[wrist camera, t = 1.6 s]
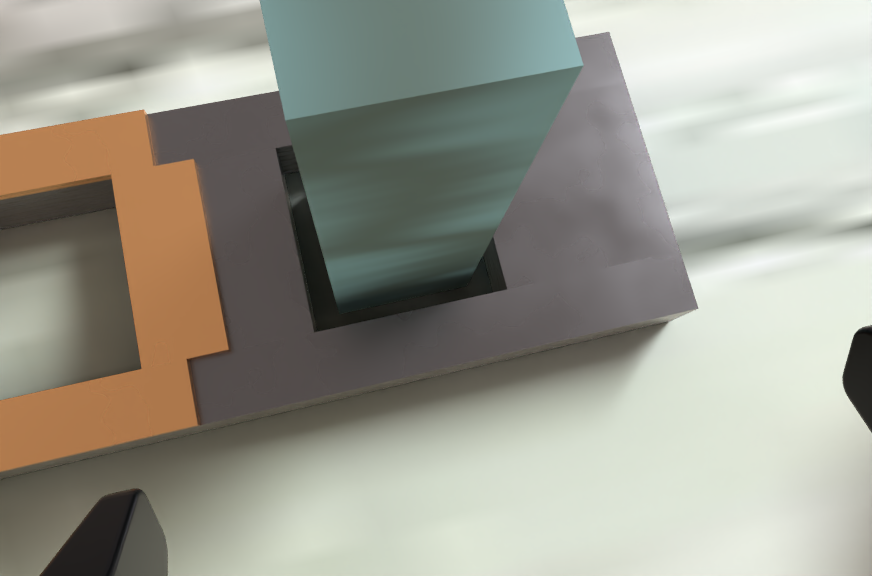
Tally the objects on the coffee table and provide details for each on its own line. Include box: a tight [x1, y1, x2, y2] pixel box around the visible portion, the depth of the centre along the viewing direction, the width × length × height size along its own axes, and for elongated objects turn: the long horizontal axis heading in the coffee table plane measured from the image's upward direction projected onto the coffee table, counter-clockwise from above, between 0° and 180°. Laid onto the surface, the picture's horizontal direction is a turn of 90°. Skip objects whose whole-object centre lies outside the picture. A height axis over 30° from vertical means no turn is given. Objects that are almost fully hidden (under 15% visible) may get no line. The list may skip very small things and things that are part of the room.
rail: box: [0, 32, 698, 479], centre depth 21 cm, size 26×9×2 cm, turn 104°
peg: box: [260, 0, 584, 314], centre depth 16 cm, size 4×4×13 cm
